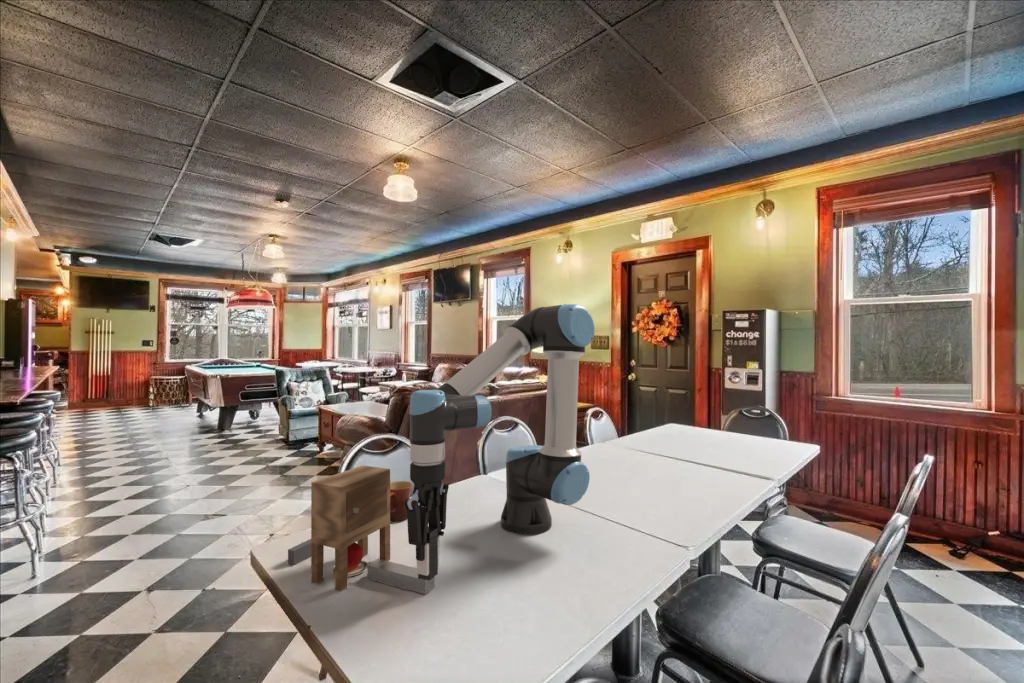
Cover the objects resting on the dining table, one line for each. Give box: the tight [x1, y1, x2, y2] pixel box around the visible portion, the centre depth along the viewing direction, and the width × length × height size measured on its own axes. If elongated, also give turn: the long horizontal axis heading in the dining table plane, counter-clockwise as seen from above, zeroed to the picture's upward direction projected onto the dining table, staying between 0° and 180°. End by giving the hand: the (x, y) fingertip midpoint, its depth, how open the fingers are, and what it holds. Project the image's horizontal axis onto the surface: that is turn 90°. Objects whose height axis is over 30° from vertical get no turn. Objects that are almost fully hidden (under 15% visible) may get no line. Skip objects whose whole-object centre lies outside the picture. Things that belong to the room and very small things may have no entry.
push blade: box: [366, 525, 439, 595], centre depth 100 cm, size 17×4×13 cm, turn 65°
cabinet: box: [310, 464, 391, 592], centre depth 106 cm, size 10×16×22 cm, turn 155°
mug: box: [390, 480, 413, 523], centre depth 137 cm, size 12×9×10 cm
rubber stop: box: [287, 538, 311, 567], centre depth 113 cm, size 2×8×4 cm, turn 155°
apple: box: [332, 542, 369, 578], centre depth 106 cm, size 8×8×6 cm
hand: (428, 569), depth 97 cm, fingers closed on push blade, 3 cm apart
